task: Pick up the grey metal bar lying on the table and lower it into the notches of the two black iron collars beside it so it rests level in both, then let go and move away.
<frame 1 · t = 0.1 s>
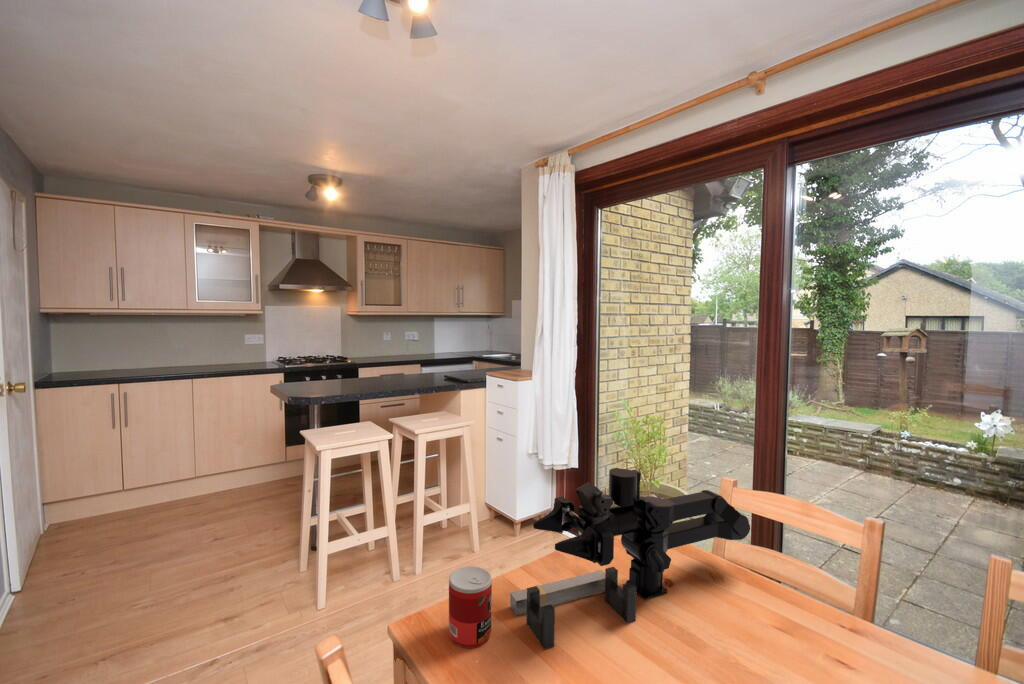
hand: (543, 535, 88), 17 cm above the table, tool horizontal, fingers open, 9 cm apart
canned food: (470, 635, 84), on the table
collar stand: (581, 622, 88), on the table
grey metal bar: (561, 598, 95), on the table
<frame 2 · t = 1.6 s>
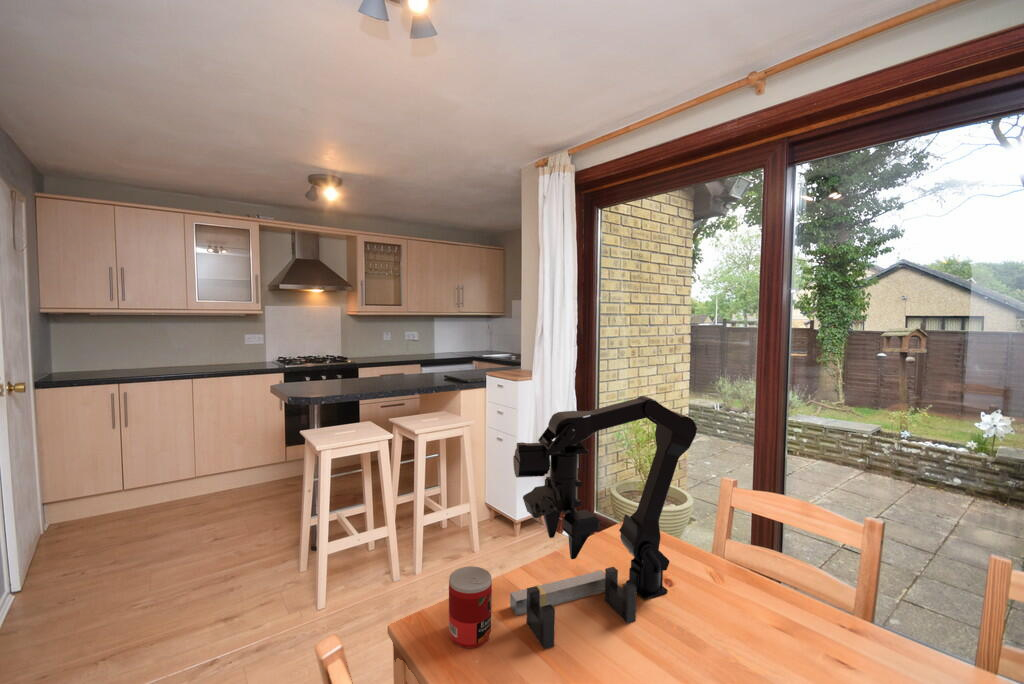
hand: (561, 547, 95), 11 cm above the table, tool pointing down, fingers open, 9 cm apart
nothing on the table moved.
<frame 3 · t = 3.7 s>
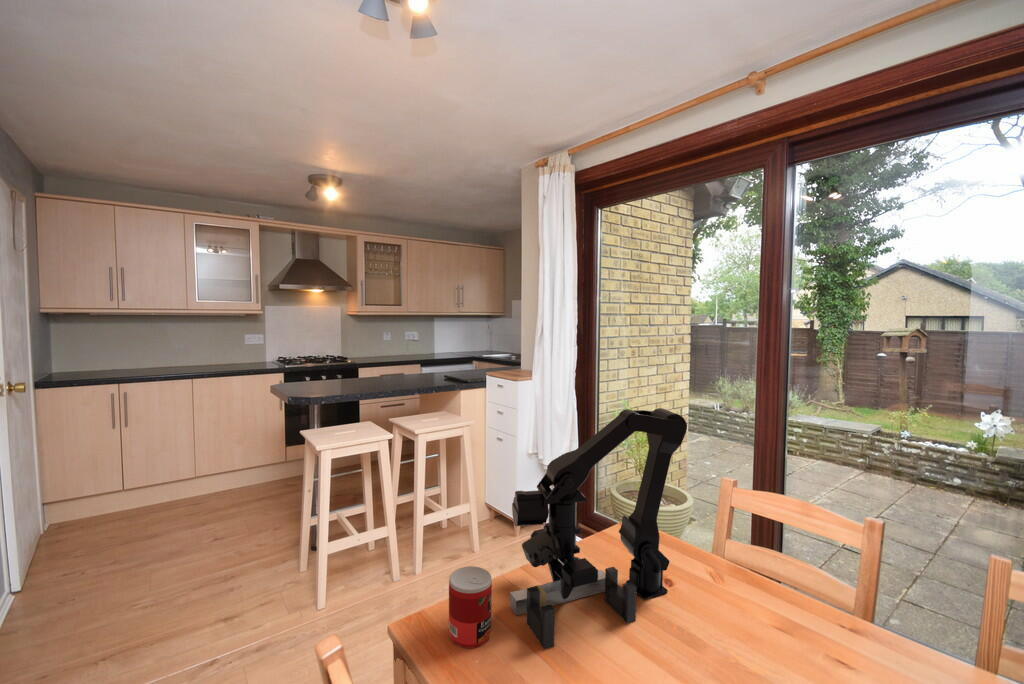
hand: (561, 593, 95), 1 cm above the table, tool pointing down, fingers closed on grey metal bar, 3 cm apart
grey metal bar: (561, 598, 95), on the table, touching gripper
everything else where it was.
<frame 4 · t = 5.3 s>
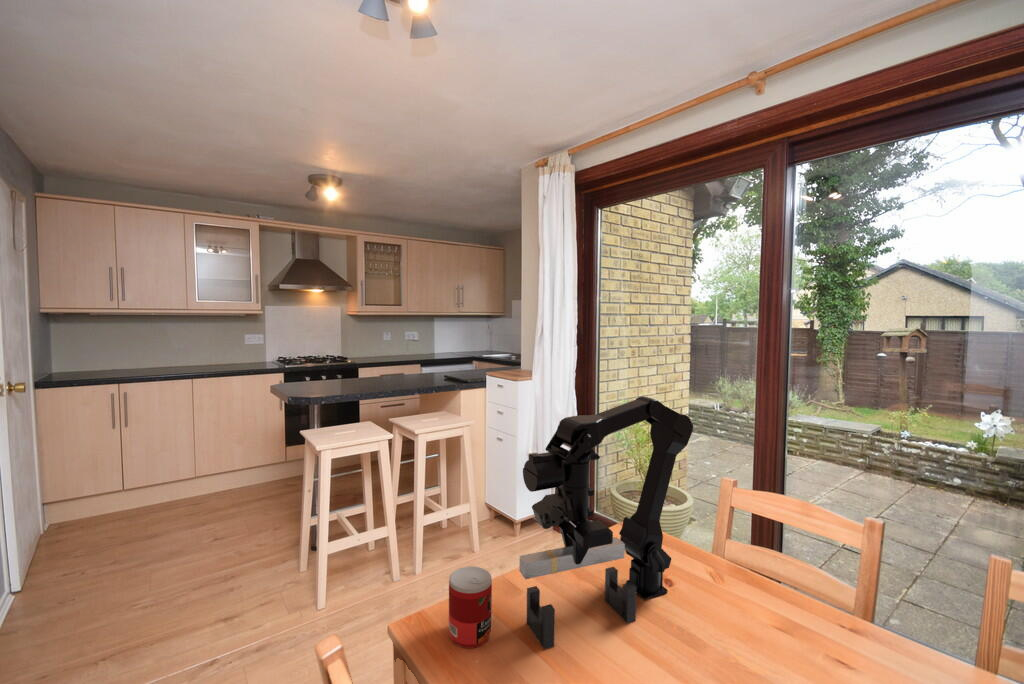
hand: (573, 559, 90), 11 cm above the table, tool pointing down, fingers closed on grey metal bar, 3 cm apart
grey metal bar: (573, 564, 90), point 10 cm above the table, touching gripper
everything else where it was.
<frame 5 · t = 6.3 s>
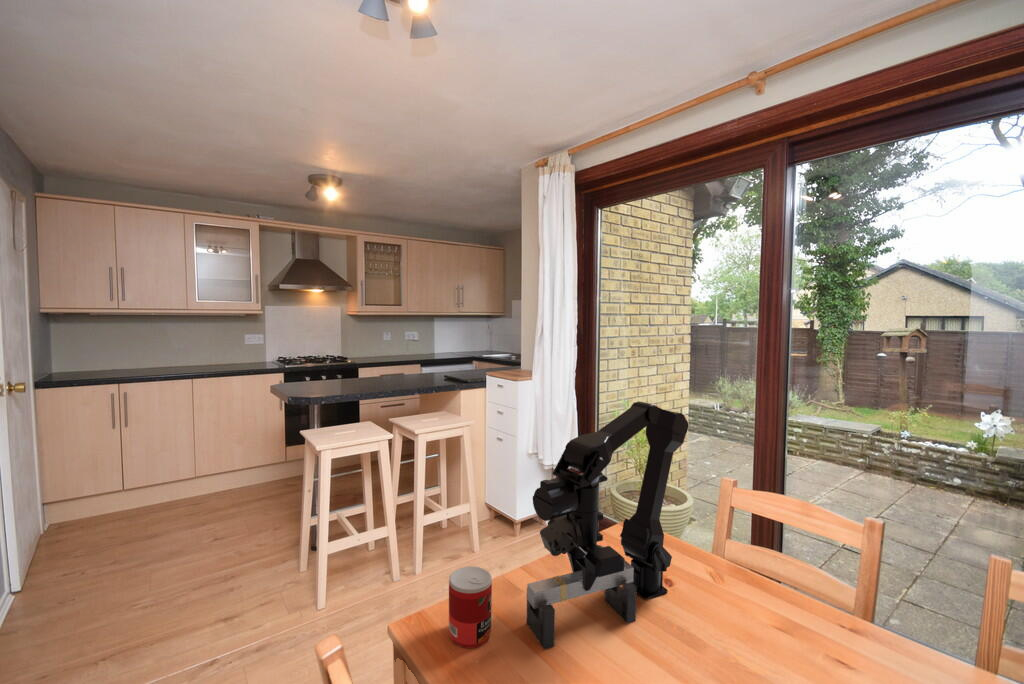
hand: (582, 585, 88), 7 cm above the table, tool pointing down, fingers closed on grey metal bar, 3 cm apart
grey metal bar: (582, 590, 88), point 6 cm above the table, touching gripper
everything else where it was.
when the fingers open (6 cm above the table, at t = 7.1 s): grey metal bar drops 1 cm, resting on collar stand.
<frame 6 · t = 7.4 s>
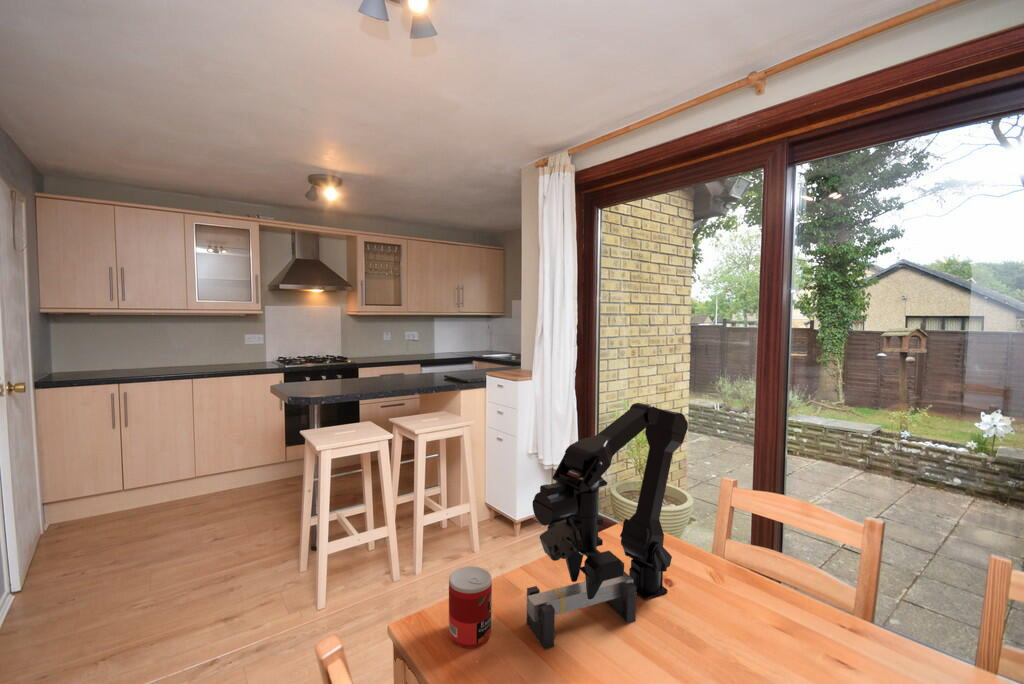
hand: (582, 589, 88), 6 cm above the table, tool pointing down, fingers open, 6 cm apart
grey metal bar: (581, 602, 88), point 4 cm above the table, touching collar stand
everything else where it was.
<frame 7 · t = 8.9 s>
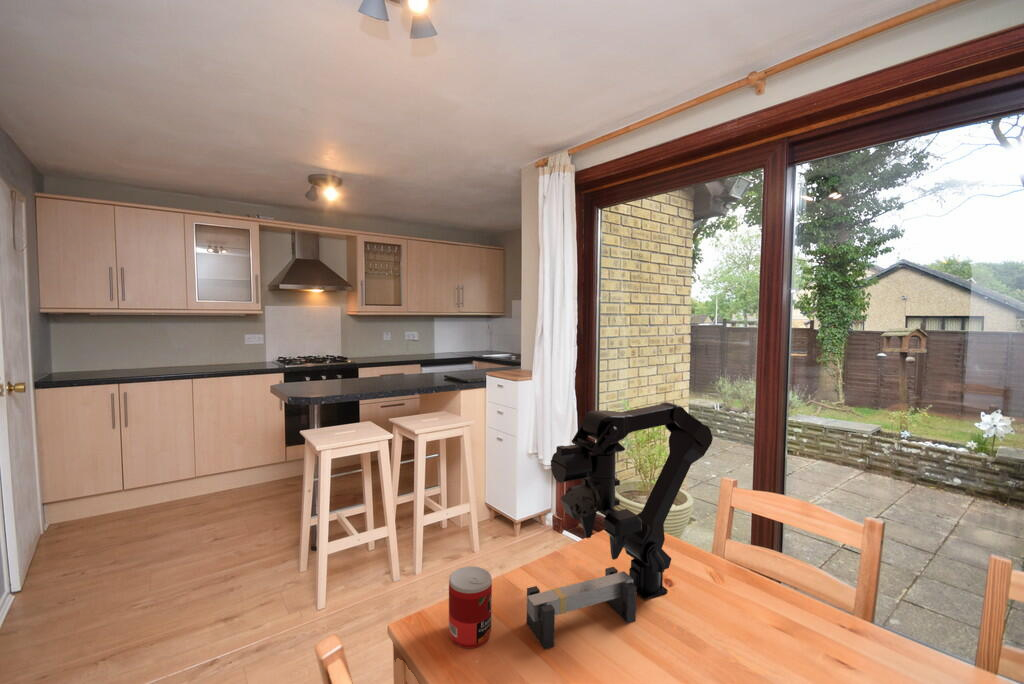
hand: (600, 547, 93), 12 cm above the table, tool pointing down, fingers open, 9 cm apart
nothing on the table moved.
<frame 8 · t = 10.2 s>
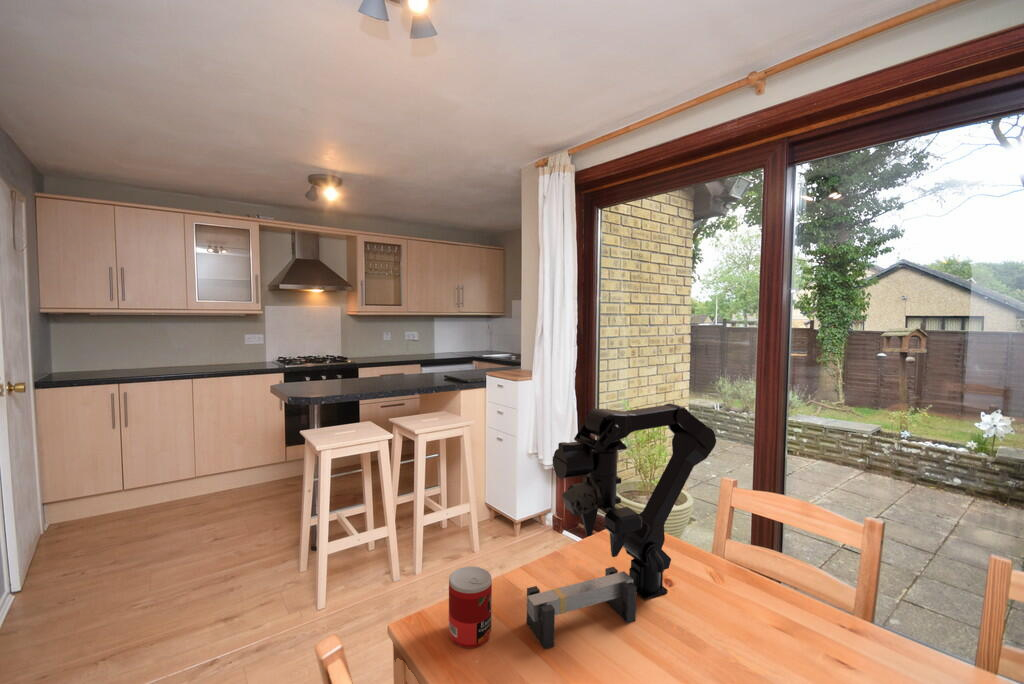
hand: (601, 545, 94), 12 cm above the table, tool pointing down, fingers open, 9 cm apart
nothing on the table moved.
at the end: grey metal bar 0.0 cm off-centre on the collar stand, point 4.0 cm above the collar stand's base; the gripper is holding nothing; grey metal bar tilted 0° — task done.
